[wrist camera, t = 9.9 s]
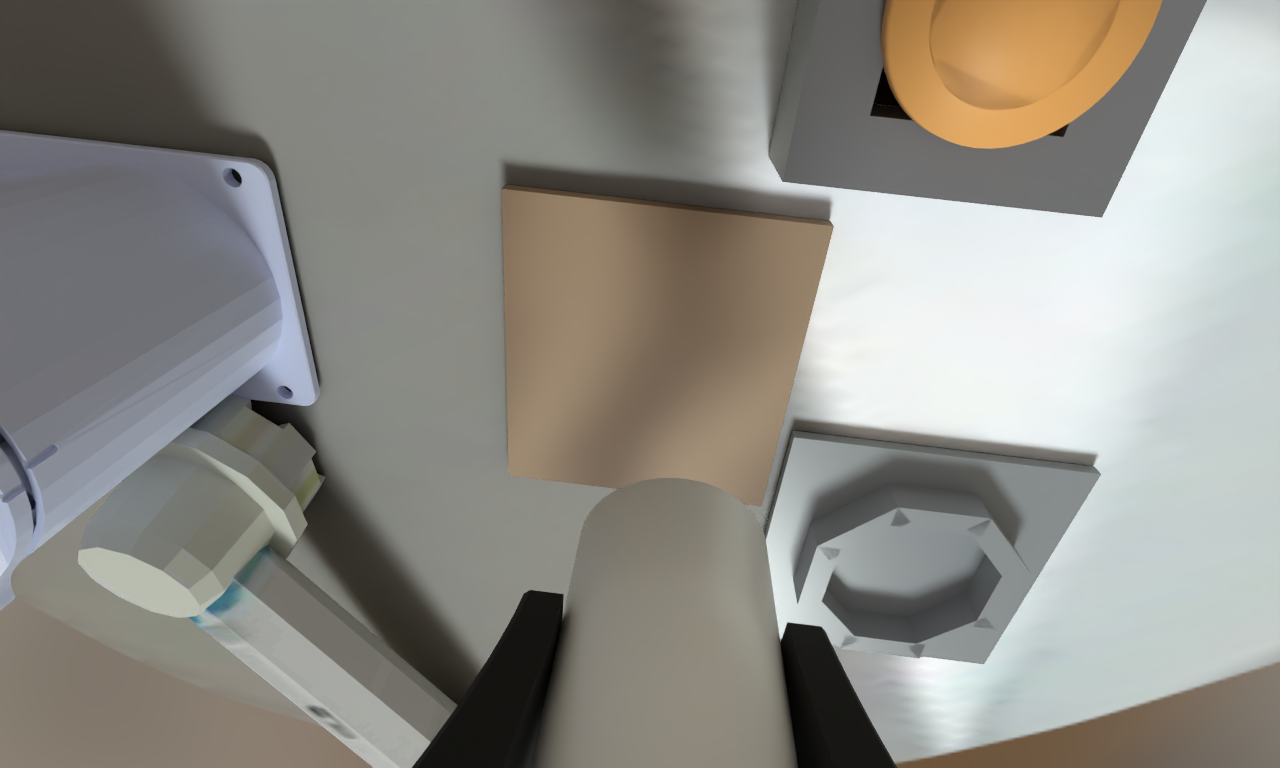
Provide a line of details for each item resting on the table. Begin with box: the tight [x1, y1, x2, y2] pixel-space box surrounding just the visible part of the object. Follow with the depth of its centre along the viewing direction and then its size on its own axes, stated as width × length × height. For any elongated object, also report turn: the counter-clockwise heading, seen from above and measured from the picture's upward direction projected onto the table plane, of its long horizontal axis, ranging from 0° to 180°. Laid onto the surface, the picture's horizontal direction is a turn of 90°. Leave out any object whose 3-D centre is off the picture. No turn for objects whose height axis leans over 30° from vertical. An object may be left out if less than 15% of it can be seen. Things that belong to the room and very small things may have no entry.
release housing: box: [769, 0, 1207, 217], centre depth 13 cm, size 7×7×3 cm
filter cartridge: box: [530, 478, 798, 768], centre depth 10 cm, size 4×4×8 cm
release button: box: [881, 0, 1162, 149], centre depth 13 cm, size 5×5×4 cm
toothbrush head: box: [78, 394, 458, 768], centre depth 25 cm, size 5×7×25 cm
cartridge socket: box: [765, 430, 1101, 664], centre depth 22 cm, size 10×10×2 cm
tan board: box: [502, 185, 834, 506], centre depth 19 cm, size 9×10×1 cm
